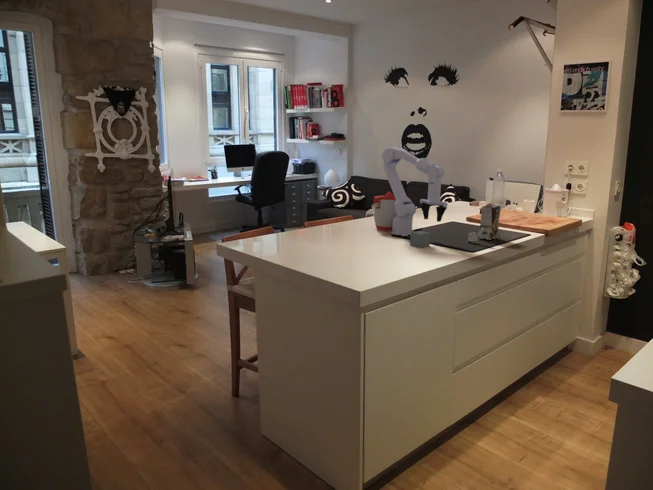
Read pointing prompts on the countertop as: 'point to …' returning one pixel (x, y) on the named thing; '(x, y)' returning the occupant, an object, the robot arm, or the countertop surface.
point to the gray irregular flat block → (475, 235)
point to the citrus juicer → (384, 211)
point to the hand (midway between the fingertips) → (432, 220)
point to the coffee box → (490, 221)
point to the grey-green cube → (419, 239)
